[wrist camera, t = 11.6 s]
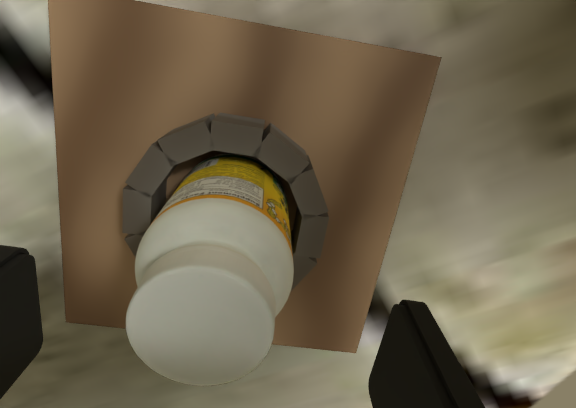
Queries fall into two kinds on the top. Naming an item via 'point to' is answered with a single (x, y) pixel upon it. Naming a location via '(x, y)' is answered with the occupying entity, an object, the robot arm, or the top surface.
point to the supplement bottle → (213, 273)
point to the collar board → (229, 147)
